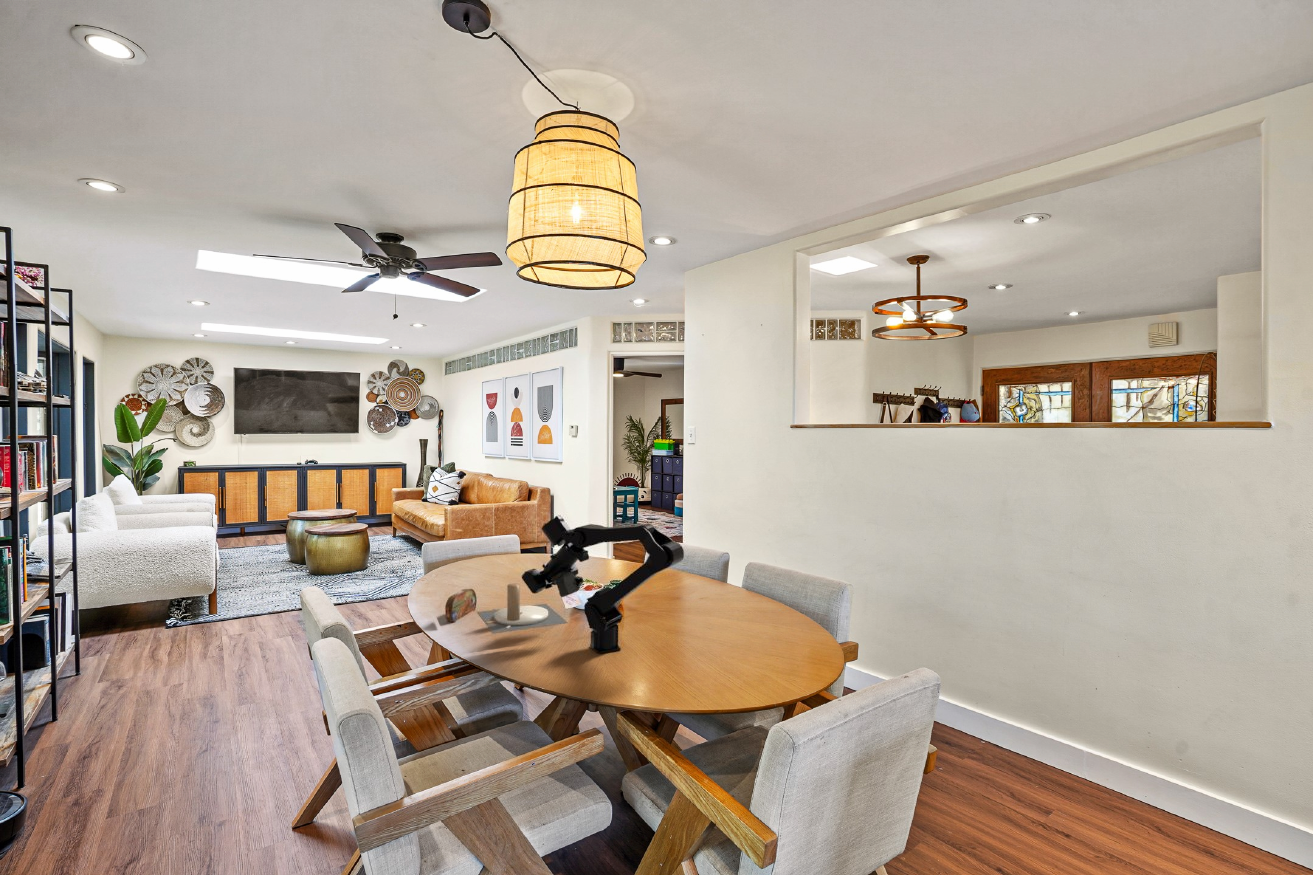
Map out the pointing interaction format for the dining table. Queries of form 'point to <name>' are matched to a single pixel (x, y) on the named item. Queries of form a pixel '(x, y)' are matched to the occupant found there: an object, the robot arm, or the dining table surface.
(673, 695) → the dining table surface
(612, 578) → the dining table surface
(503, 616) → the dial
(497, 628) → the dial plate
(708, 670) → the dining table surface
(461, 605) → the tin
